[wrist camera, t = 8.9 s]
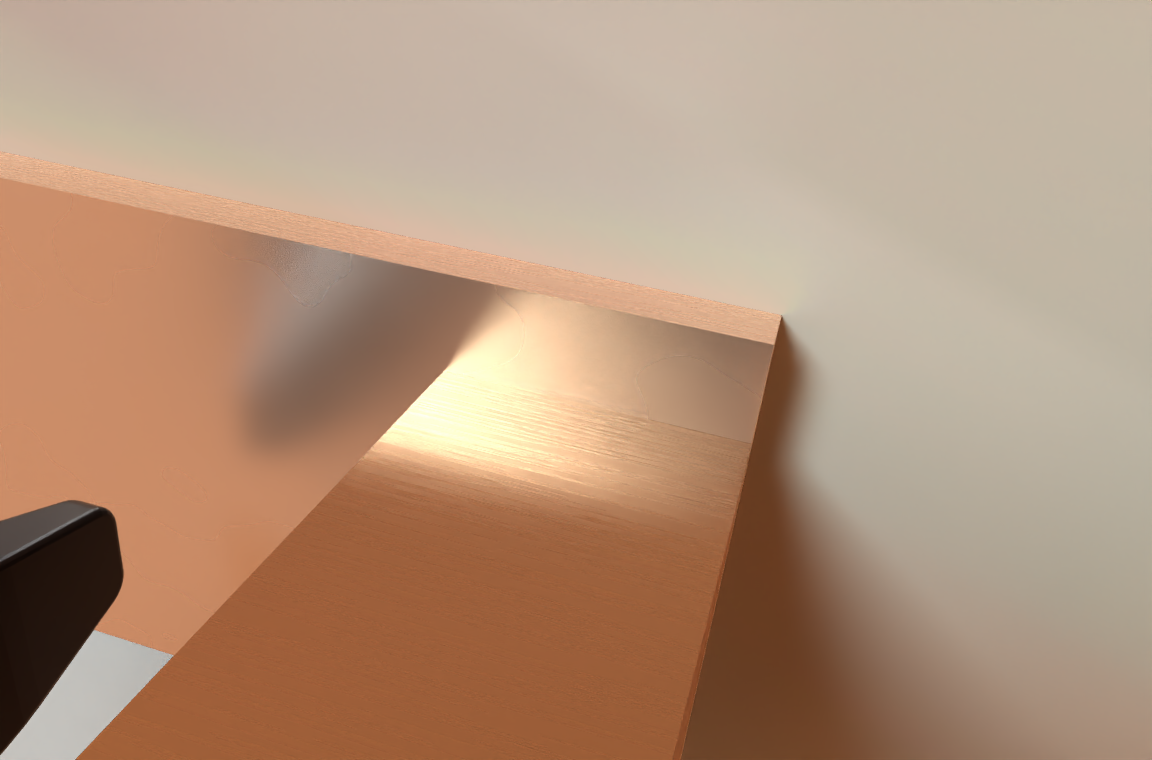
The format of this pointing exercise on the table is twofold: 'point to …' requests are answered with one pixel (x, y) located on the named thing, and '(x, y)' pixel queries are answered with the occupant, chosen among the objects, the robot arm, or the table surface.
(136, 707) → the copper plank with block
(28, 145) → the table surface
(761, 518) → the table surface
